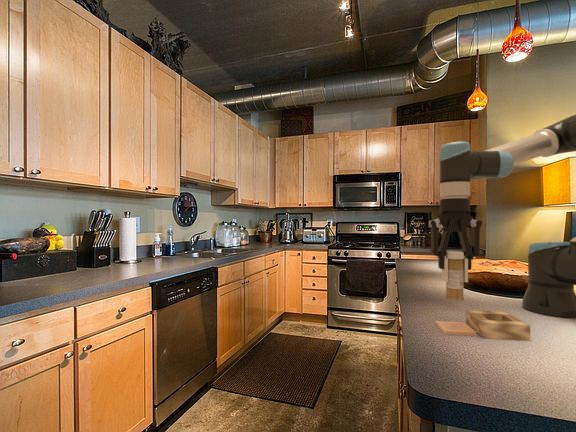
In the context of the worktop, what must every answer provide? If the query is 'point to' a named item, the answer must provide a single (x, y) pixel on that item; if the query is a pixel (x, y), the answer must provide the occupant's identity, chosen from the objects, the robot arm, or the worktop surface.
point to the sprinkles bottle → (455, 275)
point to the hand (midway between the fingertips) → (454, 280)
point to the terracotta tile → (455, 328)
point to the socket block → (498, 325)
